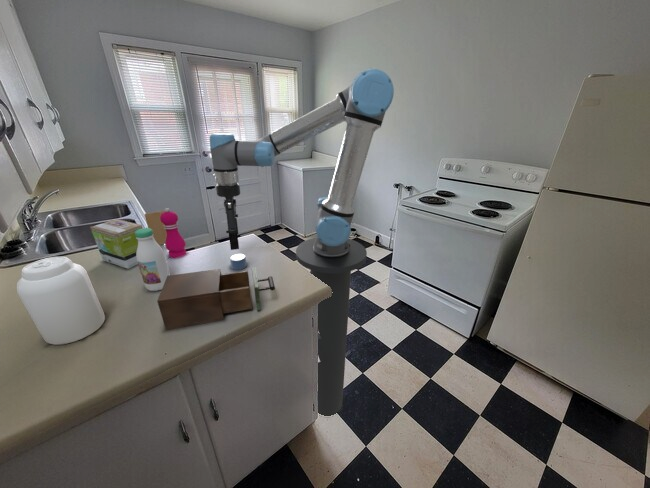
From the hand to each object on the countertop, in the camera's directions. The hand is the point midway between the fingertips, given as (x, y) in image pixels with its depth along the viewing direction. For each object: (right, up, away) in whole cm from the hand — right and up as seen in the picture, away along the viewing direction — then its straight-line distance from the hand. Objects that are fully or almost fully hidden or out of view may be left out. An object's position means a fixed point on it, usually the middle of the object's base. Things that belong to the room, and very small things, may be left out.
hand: (234, 241), depth 99 cm
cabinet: (-4, -21, -20) cm, 29 cm away
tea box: (-45, -8, +8) cm, 46 cm away
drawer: (+9, -18, -16) cm, 26 cm away
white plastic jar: (-33, -24, -27) cm, 49 cm away
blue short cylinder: (0, -10, +5) cm, 11 cm away
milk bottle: (-23, -15, -8) cm, 29 cm away
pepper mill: (-28, -6, +13) cm, 31 cm away
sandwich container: (-43, +2, +27) cm, 51 cm away
